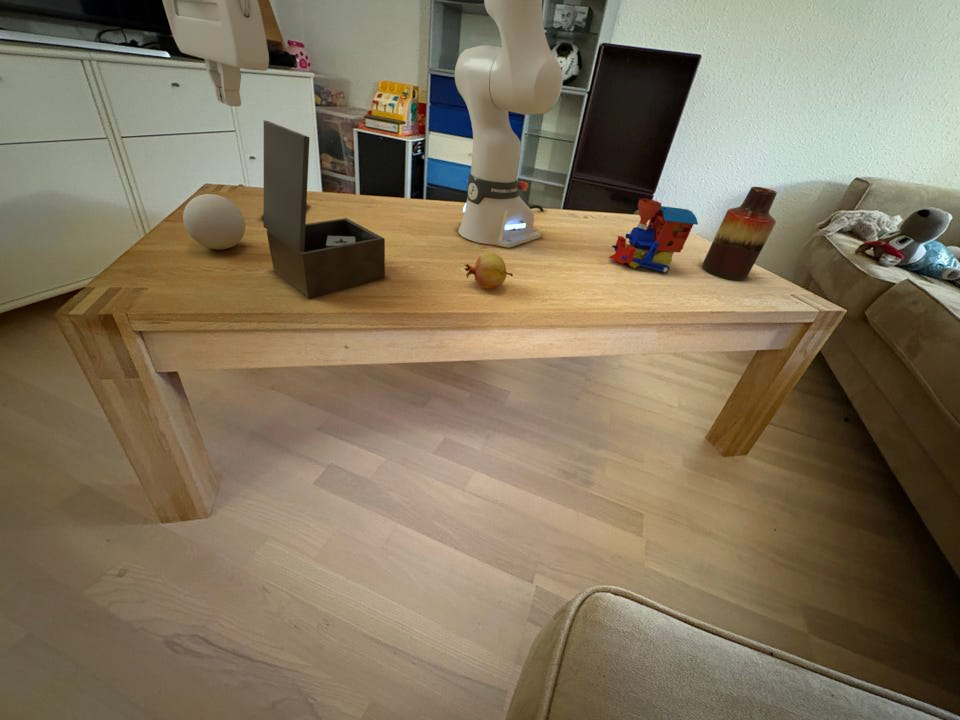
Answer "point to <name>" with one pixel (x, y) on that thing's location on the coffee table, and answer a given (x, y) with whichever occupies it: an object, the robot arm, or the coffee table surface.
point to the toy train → (655, 236)
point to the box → (329, 258)
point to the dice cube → (339, 240)
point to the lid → (285, 183)
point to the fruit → (488, 270)
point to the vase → (741, 236)
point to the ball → (214, 221)
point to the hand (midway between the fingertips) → (229, 104)
